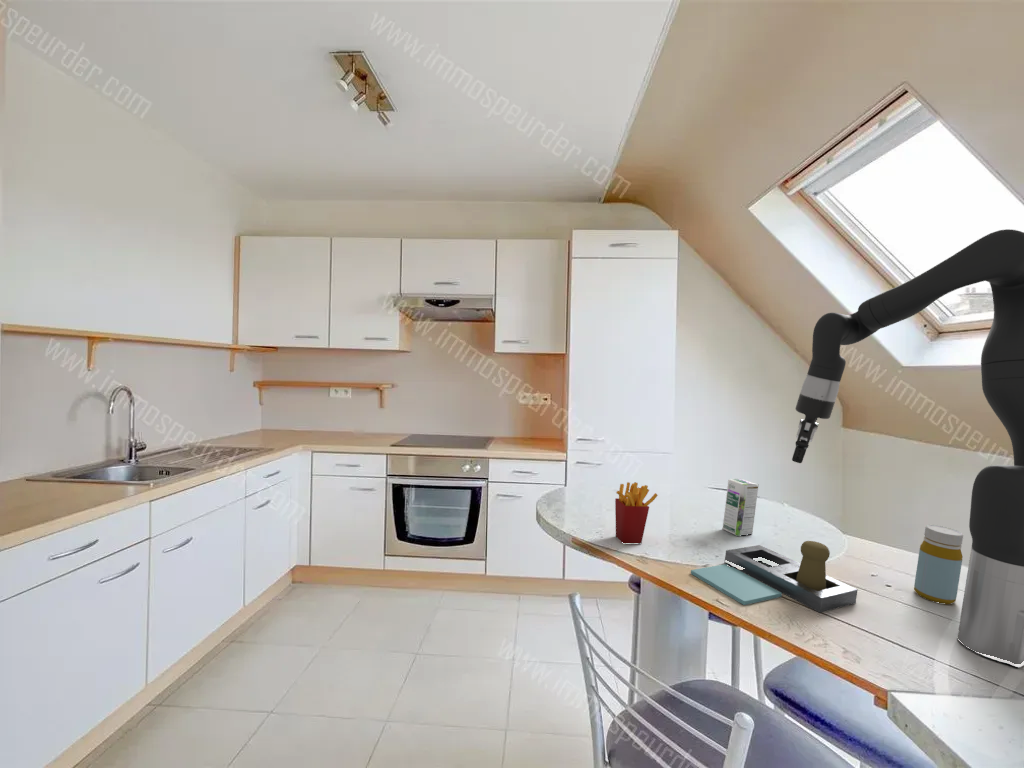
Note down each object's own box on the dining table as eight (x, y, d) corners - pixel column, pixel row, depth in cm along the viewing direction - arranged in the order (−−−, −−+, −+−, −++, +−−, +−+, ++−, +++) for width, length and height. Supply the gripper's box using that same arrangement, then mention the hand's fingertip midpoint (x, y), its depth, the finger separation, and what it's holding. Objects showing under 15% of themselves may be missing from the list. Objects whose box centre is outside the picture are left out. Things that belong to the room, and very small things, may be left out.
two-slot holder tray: (855, 603, 104) (857, 589, 103) (819, 612, 99) (821, 598, 98) (758, 556, 124) (759, 545, 124) (724, 562, 119) (725, 550, 119)
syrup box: (721, 529, 142) (727, 478, 141) (736, 527, 145) (742, 477, 143) (738, 537, 137) (744, 484, 136) (753, 535, 139) (759, 483, 138)
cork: (831, 603, 103) (838, 551, 102) (798, 598, 104) (805, 546, 103) (819, 589, 109) (826, 540, 108) (789, 584, 110) (795, 535, 109)
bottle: (939, 606, 105) (950, 536, 104) (905, 590, 112) (915, 524, 110) (963, 604, 107) (974, 535, 106) (928, 588, 114) (938, 523, 112)
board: (781, 596, 104) (781, 593, 104) (744, 605, 99) (744, 601, 99) (726, 567, 117) (726, 563, 117) (690, 573, 112) (691, 570, 112)
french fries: (621, 545, 125) (626, 486, 123) (608, 532, 133) (613, 477, 131) (654, 545, 126) (660, 487, 125) (639, 532, 134) (645, 477, 133)
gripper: (834, 403, 114) (813, 470, 118) (836, 397, 126) (816, 458, 130) (798, 394, 118) (778, 459, 122) (802, 389, 130) (784, 448, 133)
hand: (798, 458), depth 126 cm, fingers open, 8 cm apart
